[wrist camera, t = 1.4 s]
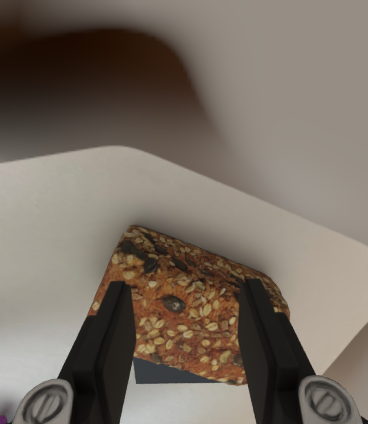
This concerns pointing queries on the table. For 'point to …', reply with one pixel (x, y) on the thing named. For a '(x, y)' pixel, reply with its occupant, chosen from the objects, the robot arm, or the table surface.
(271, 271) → the table surface
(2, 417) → the mug
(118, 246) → the bread
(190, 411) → the table surface
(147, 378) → the corner pad
